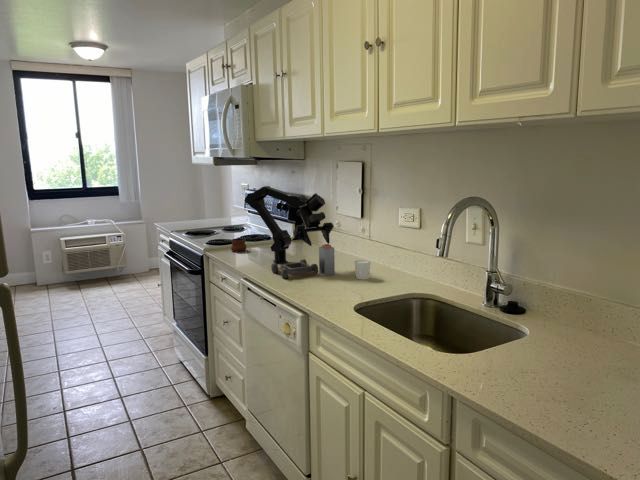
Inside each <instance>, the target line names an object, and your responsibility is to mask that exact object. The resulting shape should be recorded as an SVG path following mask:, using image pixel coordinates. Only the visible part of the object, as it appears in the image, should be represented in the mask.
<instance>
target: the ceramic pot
mask: <svg viewBox="0 0 640 480" xmlns="http://www.w3.org/2000/svg"><path fill="white" fill-rule="evenodd" d="M230 242H231V247H230V250H231V252H232V253H243V252H246V251H247V245H246V238H239V237H237V238H232V239H231V241H230ZM227 250H229V248H227V249H226V251H227Z"/></svg>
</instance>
